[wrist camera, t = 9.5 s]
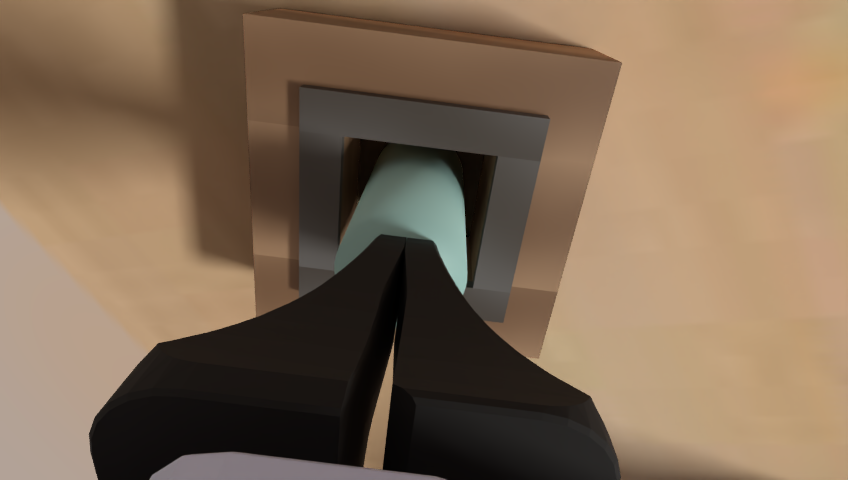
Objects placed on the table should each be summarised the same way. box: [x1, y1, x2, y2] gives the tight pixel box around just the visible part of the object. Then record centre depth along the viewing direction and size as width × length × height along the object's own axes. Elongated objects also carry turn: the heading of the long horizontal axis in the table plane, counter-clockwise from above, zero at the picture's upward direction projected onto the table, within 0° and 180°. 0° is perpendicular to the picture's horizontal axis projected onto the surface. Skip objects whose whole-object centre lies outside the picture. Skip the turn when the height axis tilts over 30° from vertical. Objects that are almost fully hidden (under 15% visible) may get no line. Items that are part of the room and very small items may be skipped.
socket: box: [243, 8, 622, 359], centre depth 17 cm, size 10×10×4 cm
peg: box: [334, 142, 467, 323], centre depth 15 cm, size 3×3×7 cm
